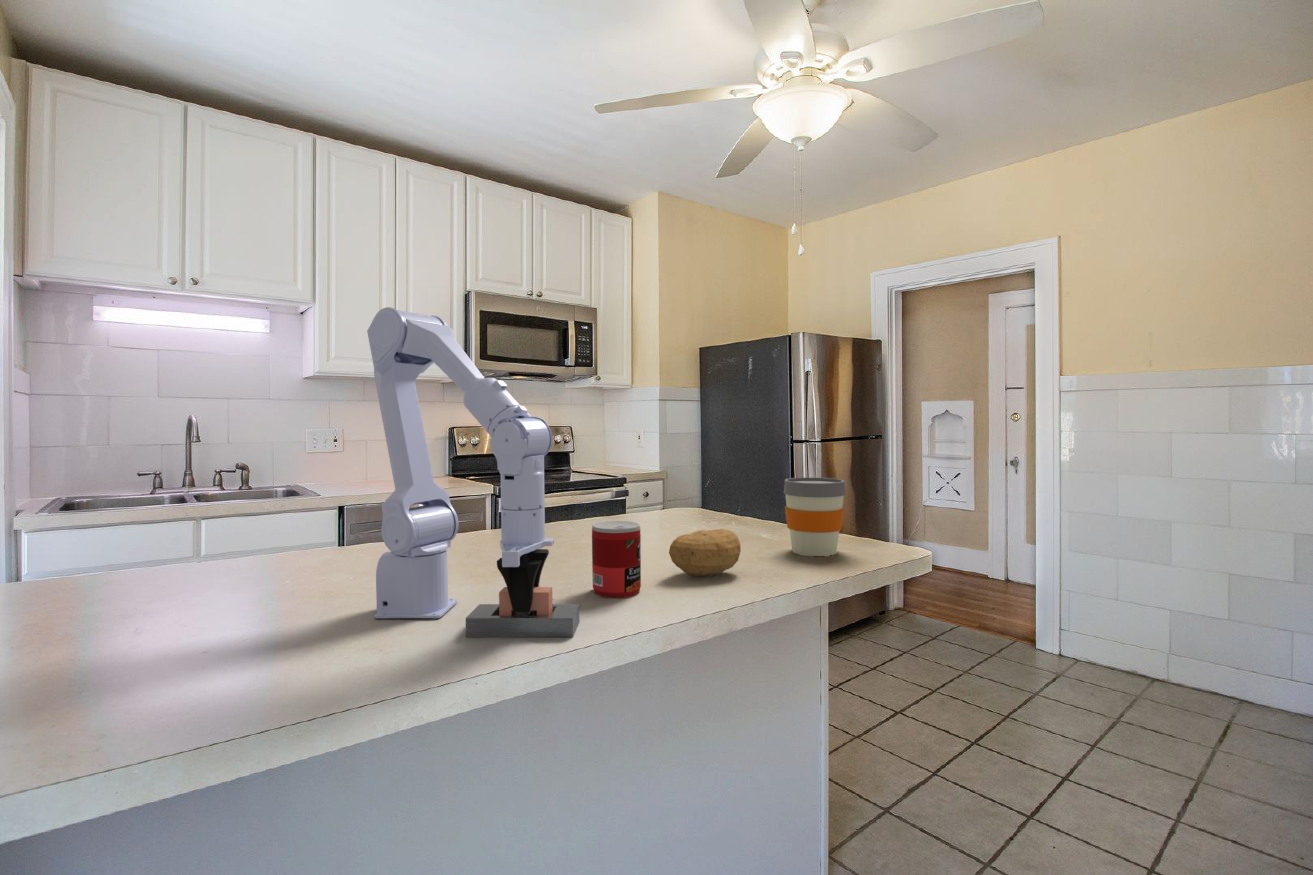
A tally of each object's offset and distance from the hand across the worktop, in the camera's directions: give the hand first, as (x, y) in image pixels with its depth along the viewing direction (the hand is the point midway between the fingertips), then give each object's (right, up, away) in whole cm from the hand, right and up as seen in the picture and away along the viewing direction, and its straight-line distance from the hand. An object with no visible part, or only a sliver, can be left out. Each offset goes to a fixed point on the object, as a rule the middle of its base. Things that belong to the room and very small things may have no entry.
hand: (524, 607), depth 84 cm
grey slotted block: (0, -3, 0) cm, 3 cm away
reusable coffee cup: (+51, -1, +46) cm, 69 cm away
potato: (+26, -2, +28) cm, 38 cm away
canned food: (+11, -2, +18) cm, 21 cm away
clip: (0, -3, 0) cm, 3 cm away
